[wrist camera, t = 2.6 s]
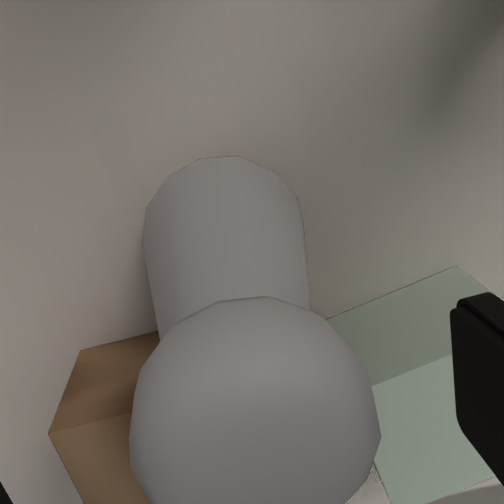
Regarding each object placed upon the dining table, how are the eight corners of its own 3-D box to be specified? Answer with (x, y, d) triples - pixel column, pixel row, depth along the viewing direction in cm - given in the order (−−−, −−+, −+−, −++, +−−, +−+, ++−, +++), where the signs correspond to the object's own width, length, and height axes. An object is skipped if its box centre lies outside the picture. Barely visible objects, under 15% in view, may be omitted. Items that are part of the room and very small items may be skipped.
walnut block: (277, 301, 21) (300, 369, 16) (310, 448, 24) (337, 538, 20) (80, 350, 21) (47, 433, 16) (142, 491, 24) (130, 592, 20)
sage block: (457, 265, 21) (529, 322, 17) (484, 378, 24) (554, 453, 19) (314, 324, 22) (347, 396, 17) (358, 429, 24) (396, 515, 20)
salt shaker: (290, 140, 18) (476, 295, 6) (292, 273, 20) (431, 575, 8) (138, 150, 18) (23, 339, 6) (157, 285, 20) (102, 625, 8)
